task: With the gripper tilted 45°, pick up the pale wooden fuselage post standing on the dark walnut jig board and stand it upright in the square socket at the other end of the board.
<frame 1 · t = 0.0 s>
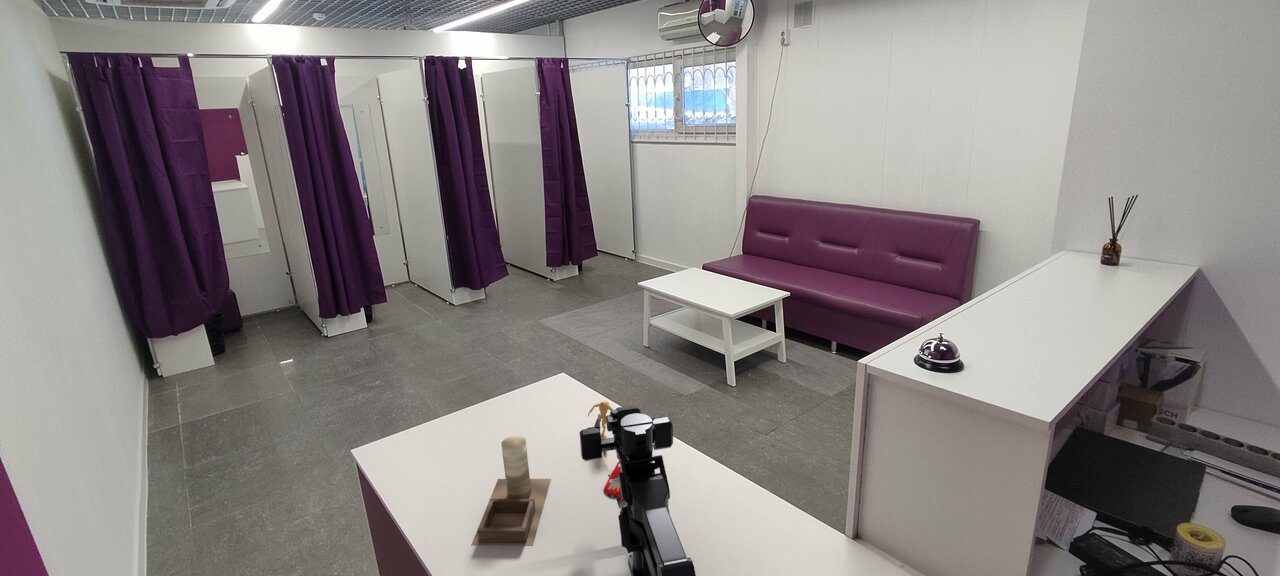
hand: (618, 417, 125), 17 cm above the counter, tool horizontal, fingers open, 9 cm apart
fuselage post: (519, 493, 126), point 1 cm above the counter, touching jig board
jig board: (514, 514, 122), on the counter
race car: (622, 484, 131), on the counter
figurine: (602, 446, 144), on the counter
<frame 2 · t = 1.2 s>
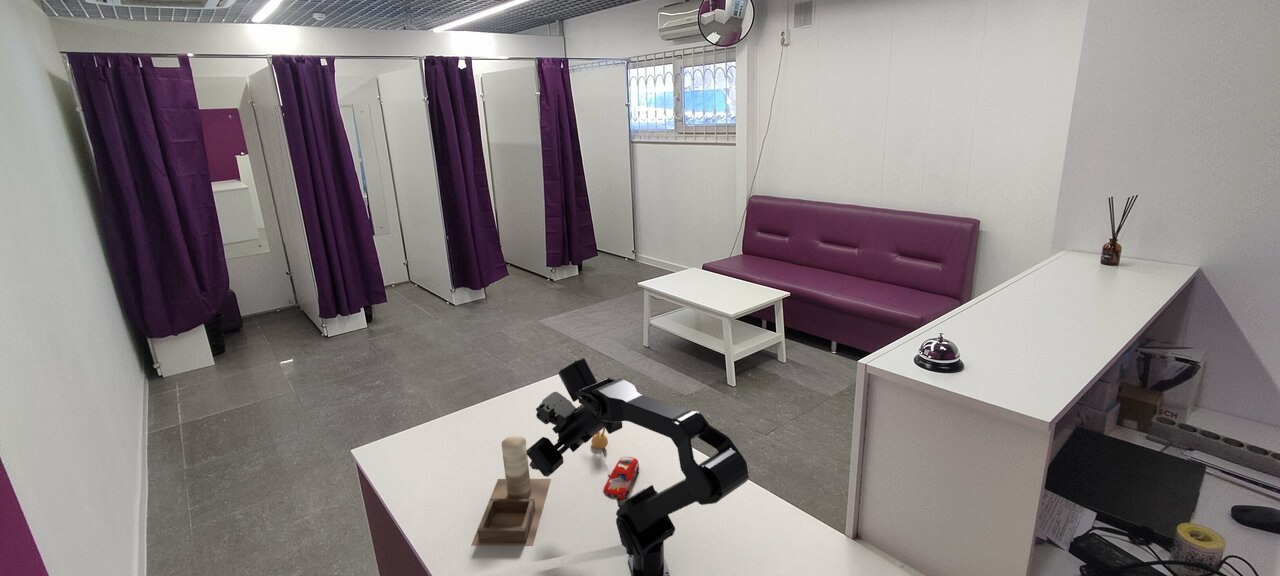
hand: (545, 454, 118), 14 cm above the counter, tool tilted 45°, fingers open, 9 cm apart
nothing on the counter moved.
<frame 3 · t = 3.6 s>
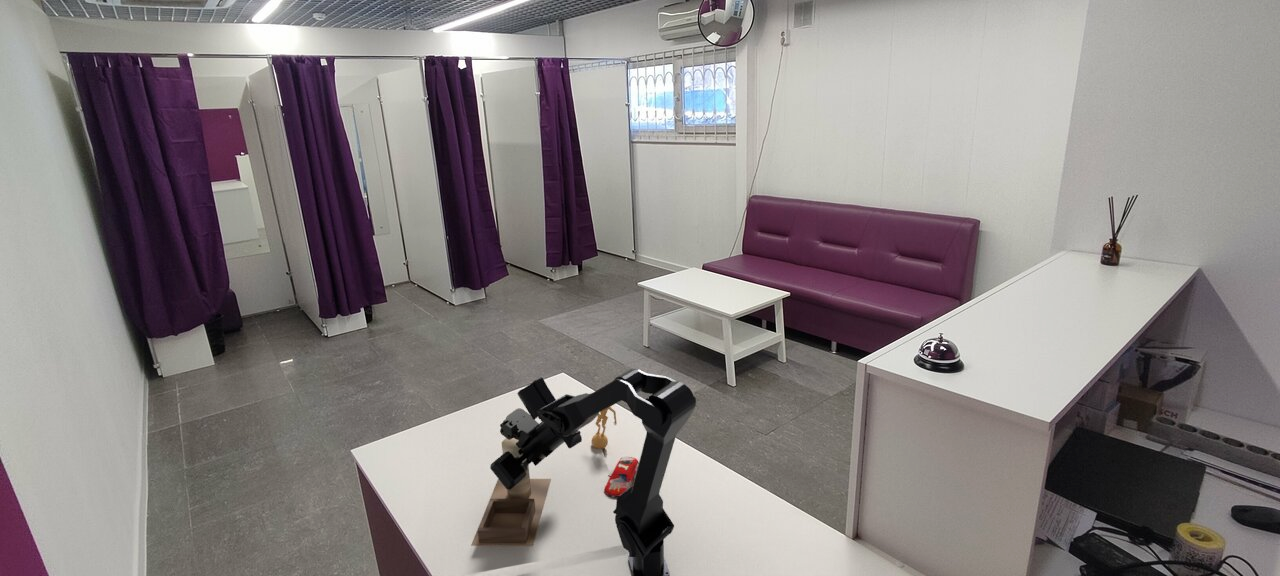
hand: (511, 467, 125), 8 cm above the counter, tool tilted 45°, fingers open, 5 cm apart
fuselage post: (519, 493, 126), point 1 cm above the counter, touching gripper, jig board
everything else where it was.
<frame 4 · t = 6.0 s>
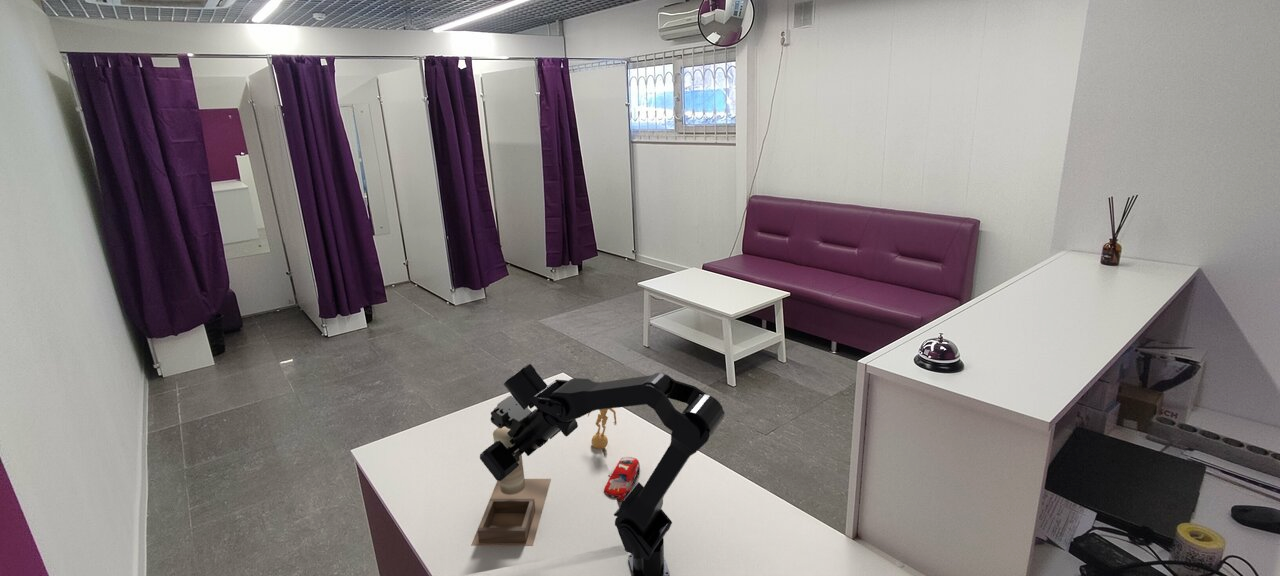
hand: (504, 458, 118), 13 cm above the counter, tool tilted 45°, fingers closed on fuselage post, 5 cm apart
fuselage post: (512, 486, 120), point 7 cm above the counter, touching gripper
everything else where it was.
when the fingers open (9 cm above the counter, at t = 8.0 s): fuselage post drops 1 cm, resting on jig board.
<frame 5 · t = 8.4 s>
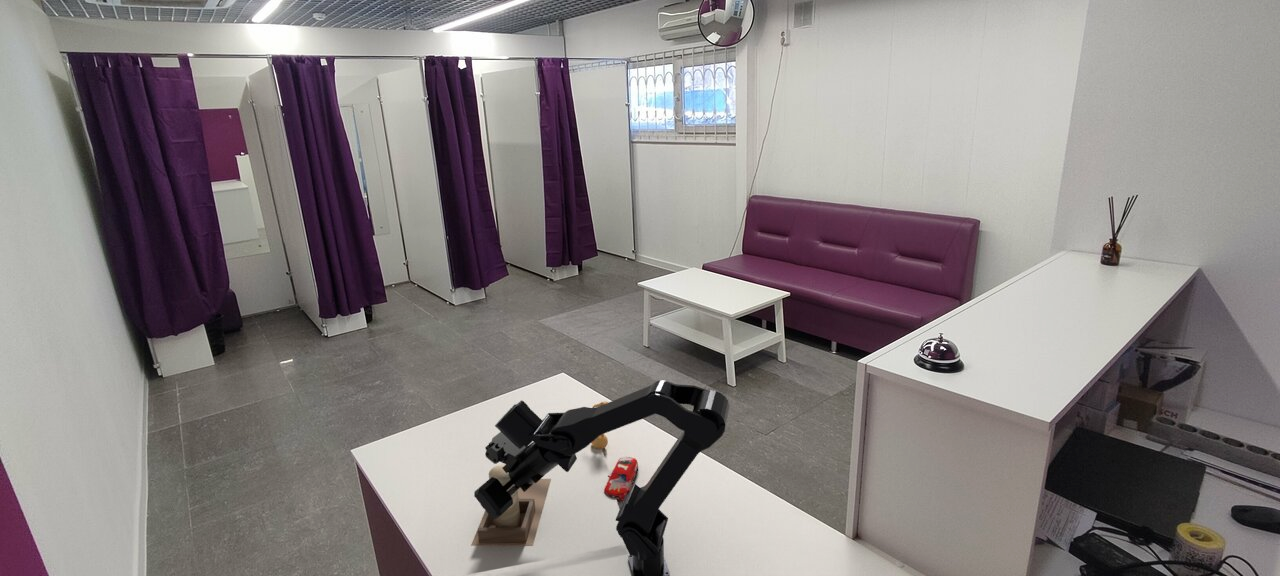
hand: (498, 491, 115), 9 cm above the counter, tool tilted 45°, fingers open, 9 cm apart
fuselage post: (508, 526, 117), point 1 cm above the counter, touching jig board
everything else where it was.
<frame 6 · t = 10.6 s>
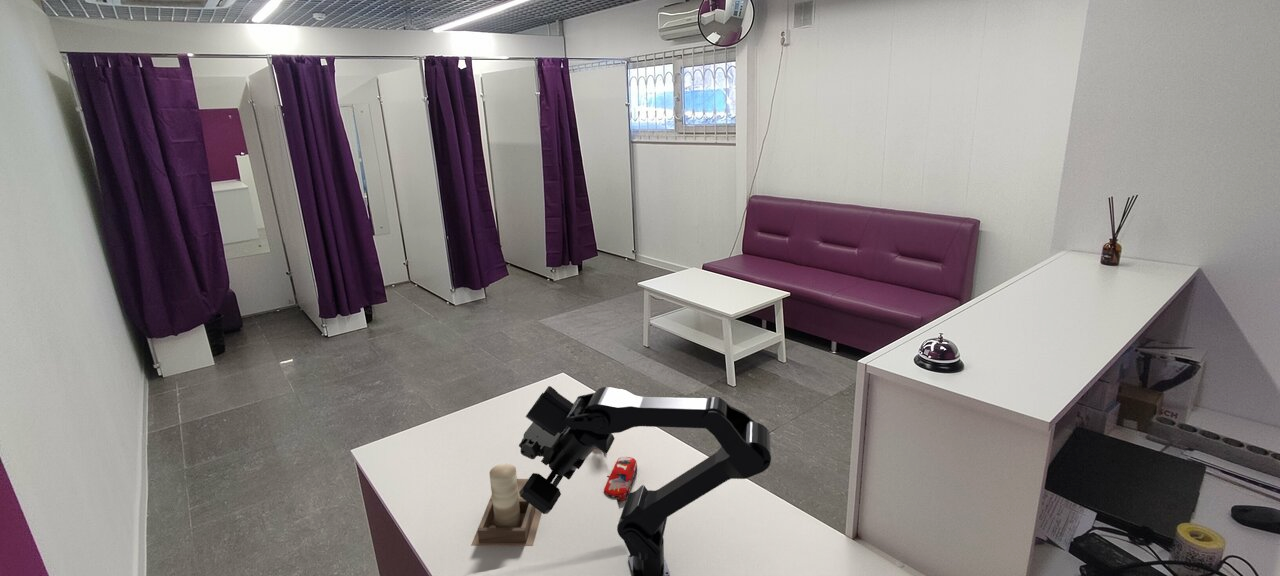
hand: (542, 483, 112), 12 cm above the counter, tool tilted 40°, fingers open, 9 cm apart
nothing on the counter moved.
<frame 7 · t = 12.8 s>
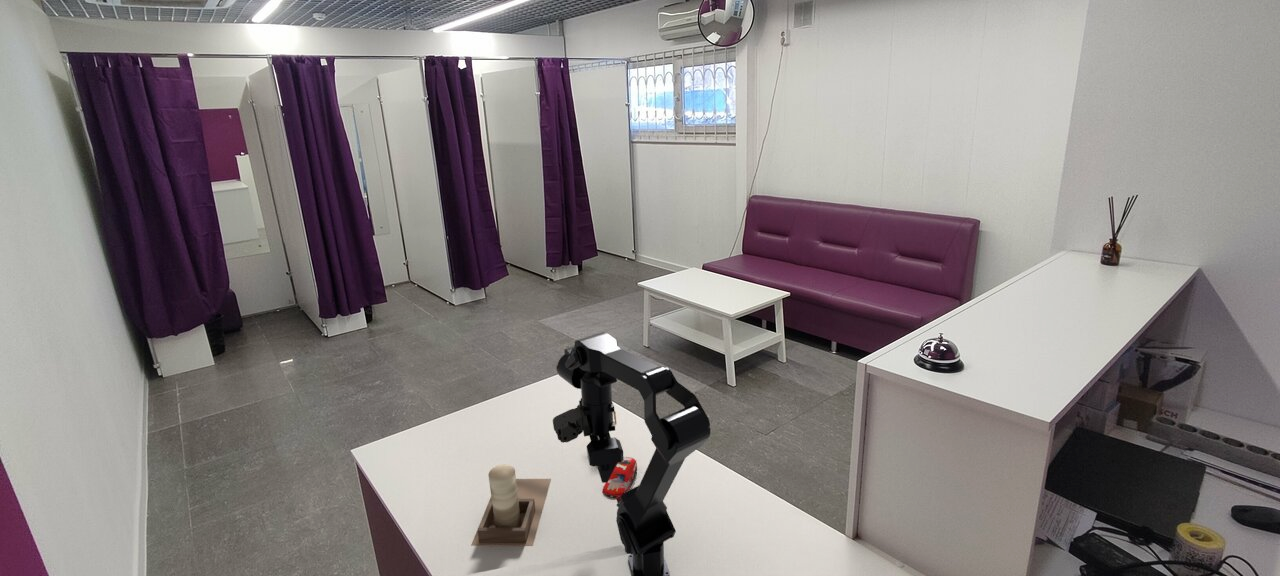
hand: (600, 467, 115), 13 cm above the counter, tool pointing down, fingers open, 9 cm apart
nothing on the counter moved.
at the end: fuselage post 0.1 cm from the target spot on the jig board, point 1.2 cm above the jig board's base; fuselage post tilted 1°; the gripper is holding nothing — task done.
